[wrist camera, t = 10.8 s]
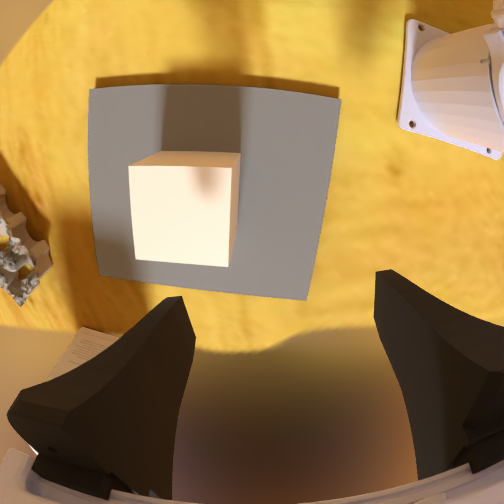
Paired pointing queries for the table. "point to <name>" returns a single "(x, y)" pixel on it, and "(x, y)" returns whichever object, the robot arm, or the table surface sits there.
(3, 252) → the egg carton
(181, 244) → the cube
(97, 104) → the mat
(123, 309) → the table surface
